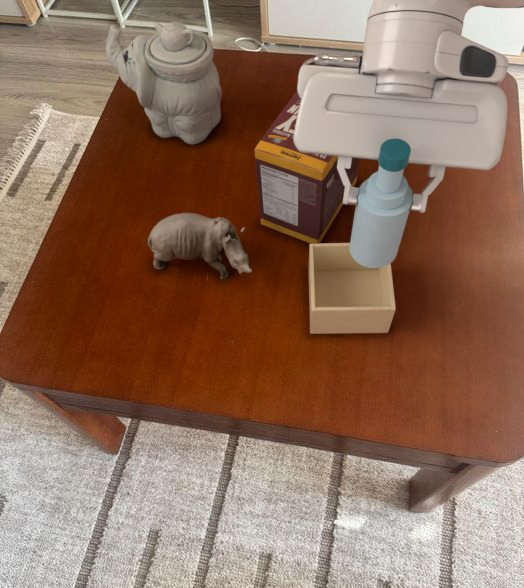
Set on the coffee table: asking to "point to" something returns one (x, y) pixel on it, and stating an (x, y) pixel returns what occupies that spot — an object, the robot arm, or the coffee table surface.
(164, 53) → the teapot
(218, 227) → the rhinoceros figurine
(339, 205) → the supplement box
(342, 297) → the open box
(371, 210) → the bottle
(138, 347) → the coffee table surface
